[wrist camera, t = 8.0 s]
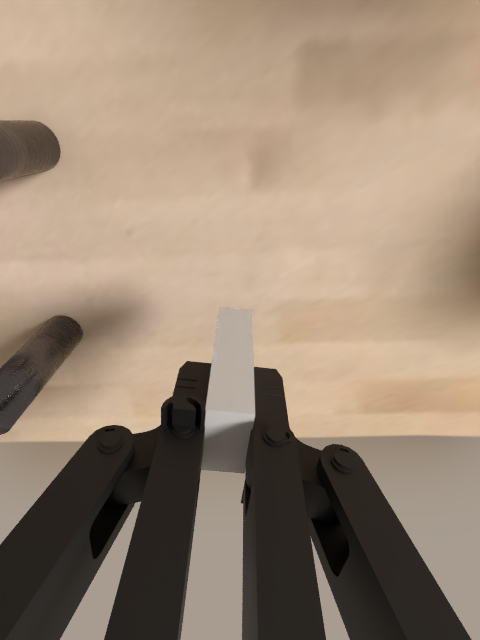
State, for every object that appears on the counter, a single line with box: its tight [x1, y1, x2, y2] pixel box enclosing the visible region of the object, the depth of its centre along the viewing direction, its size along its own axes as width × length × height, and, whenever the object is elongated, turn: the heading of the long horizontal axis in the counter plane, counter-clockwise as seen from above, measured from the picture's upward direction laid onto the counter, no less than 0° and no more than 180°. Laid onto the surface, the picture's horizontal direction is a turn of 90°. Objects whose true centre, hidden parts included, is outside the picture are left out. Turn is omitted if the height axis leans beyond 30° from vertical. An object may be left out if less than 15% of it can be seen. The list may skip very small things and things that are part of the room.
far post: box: [0, 316, 83, 435], centre depth 23 cm, size 3×3×9 cm
